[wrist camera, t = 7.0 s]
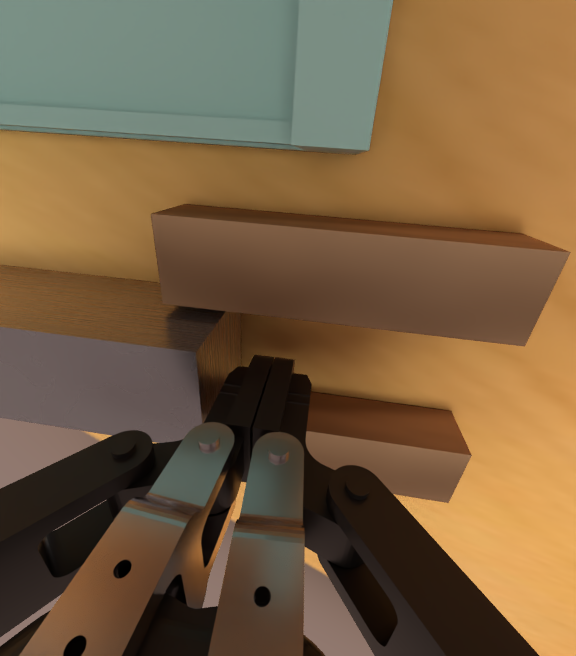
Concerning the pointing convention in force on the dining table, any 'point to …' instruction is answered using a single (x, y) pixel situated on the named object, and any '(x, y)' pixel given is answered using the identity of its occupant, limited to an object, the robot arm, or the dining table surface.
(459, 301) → the slotted beam
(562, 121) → the dining table surface
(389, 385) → the dining table surface
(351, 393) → the dining table surface
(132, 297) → the grey rectangular block
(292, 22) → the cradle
